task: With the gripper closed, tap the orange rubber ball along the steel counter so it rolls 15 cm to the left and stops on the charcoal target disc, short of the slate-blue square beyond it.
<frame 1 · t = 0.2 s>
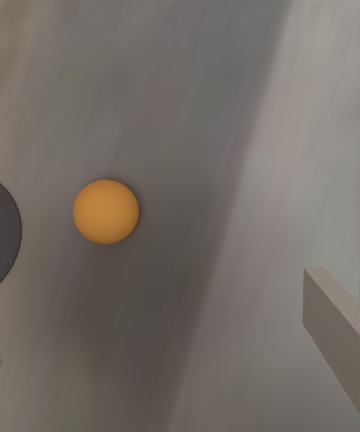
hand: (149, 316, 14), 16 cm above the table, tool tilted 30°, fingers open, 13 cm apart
ball: (106, 211, 28), on the table
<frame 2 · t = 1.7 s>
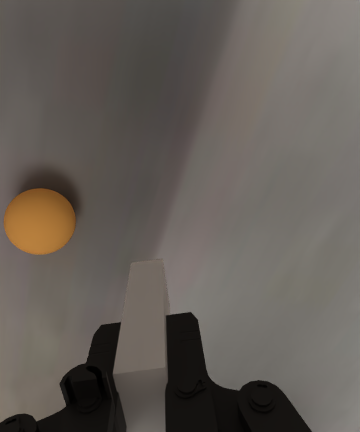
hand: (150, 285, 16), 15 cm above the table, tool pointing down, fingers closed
ball: (41, 221, 27), on the table
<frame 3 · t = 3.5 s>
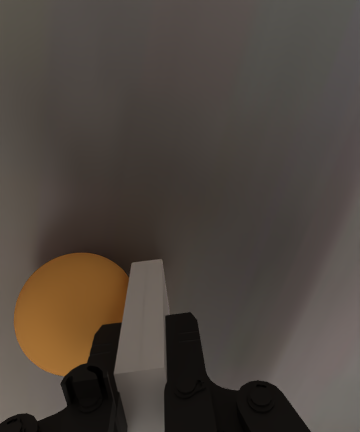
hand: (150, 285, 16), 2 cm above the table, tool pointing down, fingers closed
ball: (79, 311, 15), on the table
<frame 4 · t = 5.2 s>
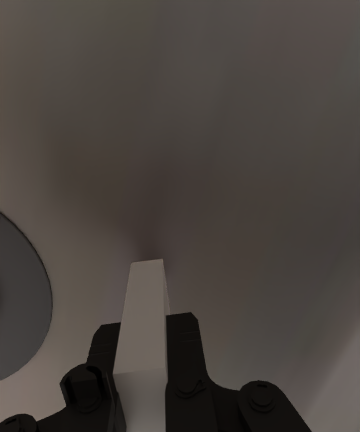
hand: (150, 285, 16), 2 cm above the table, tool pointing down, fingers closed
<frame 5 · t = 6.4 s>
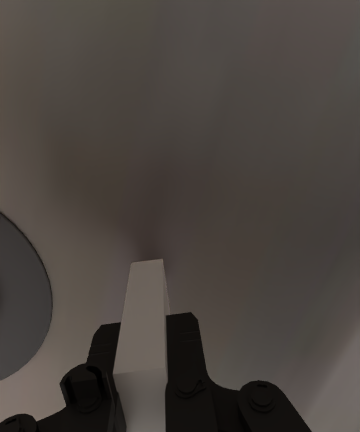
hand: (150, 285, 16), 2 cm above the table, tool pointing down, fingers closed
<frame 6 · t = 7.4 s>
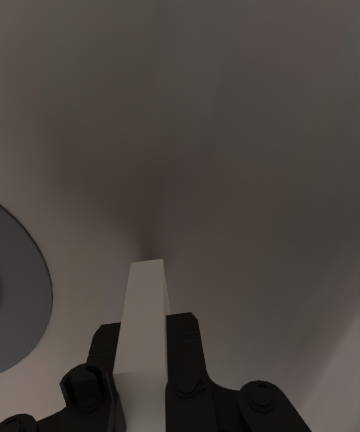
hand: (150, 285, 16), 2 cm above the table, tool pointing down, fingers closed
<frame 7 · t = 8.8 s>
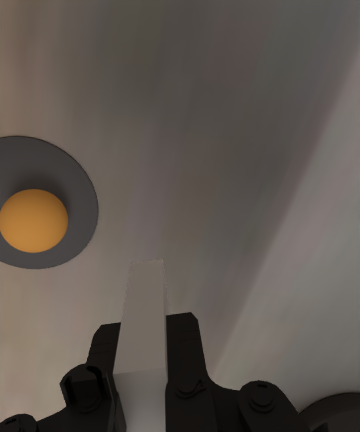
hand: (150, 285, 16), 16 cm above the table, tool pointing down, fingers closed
target disc: (28, 207, 31), on the table
ball: (34, 220, 29), on the table
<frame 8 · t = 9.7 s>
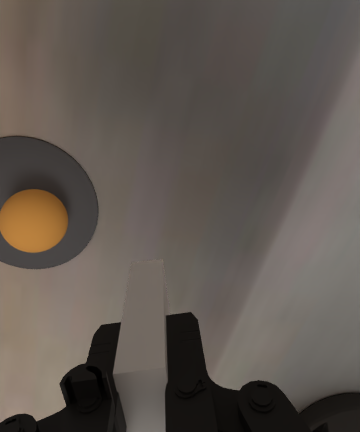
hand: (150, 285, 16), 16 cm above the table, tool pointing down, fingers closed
target disc: (28, 207, 31), on the table
ball: (34, 220, 29), on the table
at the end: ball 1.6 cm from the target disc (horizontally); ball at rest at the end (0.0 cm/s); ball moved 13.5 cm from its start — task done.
